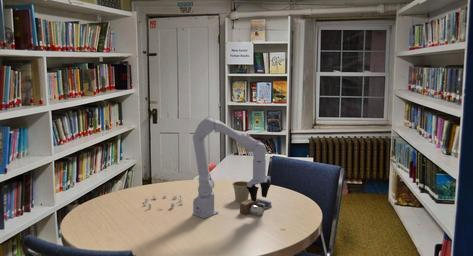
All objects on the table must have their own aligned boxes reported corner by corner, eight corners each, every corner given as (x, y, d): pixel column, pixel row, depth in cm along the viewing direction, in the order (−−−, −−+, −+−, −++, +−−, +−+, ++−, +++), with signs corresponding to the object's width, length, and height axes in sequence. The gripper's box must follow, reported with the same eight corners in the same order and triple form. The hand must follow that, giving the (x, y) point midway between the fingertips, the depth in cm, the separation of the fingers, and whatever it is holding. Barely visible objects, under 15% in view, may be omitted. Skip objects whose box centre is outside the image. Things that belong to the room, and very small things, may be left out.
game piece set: (188, 208, 208) (187, 200, 207) (146, 213, 200) (145, 205, 200) (178, 196, 226) (177, 189, 225) (139, 200, 218) (138, 193, 218)
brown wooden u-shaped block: (245, 215, 197) (245, 204, 196) (239, 213, 199) (239, 203, 198) (258, 210, 204) (258, 199, 203) (252, 208, 206) (252, 198, 205)
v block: (262, 210, 203) (262, 205, 203) (249, 206, 208) (249, 201, 208) (271, 206, 208) (271, 201, 208) (258, 203, 213) (258, 198, 213)
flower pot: (251, 203, 213) (251, 186, 212) (232, 203, 213) (232, 186, 212) (251, 197, 222) (251, 181, 221) (232, 197, 223) (232, 181, 221)
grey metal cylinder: (264, 214, 198) (263, 206, 197) (259, 217, 195) (258, 209, 194) (247, 209, 204) (246, 201, 203) (241, 212, 202) (240, 205, 200)
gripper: (256, 174, 186) (255, 204, 188) (276, 168, 197) (275, 197, 199) (243, 171, 191) (243, 201, 193) (263, 165, 202) (263, 193, 204)
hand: (259, 199), depth 196 cm, fingers open, 7 cm apart
